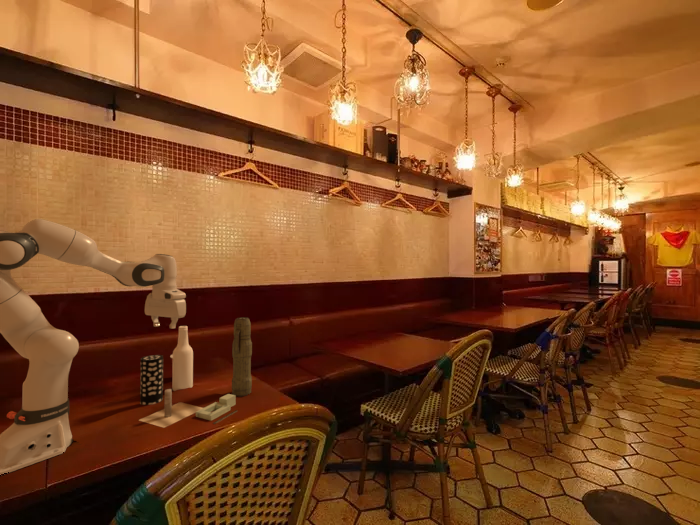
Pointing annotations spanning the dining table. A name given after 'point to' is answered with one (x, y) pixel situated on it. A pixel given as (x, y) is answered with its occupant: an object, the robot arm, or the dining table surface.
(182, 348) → the alcohol
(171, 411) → the post stand
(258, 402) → the dining table surface
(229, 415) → the mat
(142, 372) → the white-spotted black cylinder
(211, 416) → the link
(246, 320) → the stone moai statue
